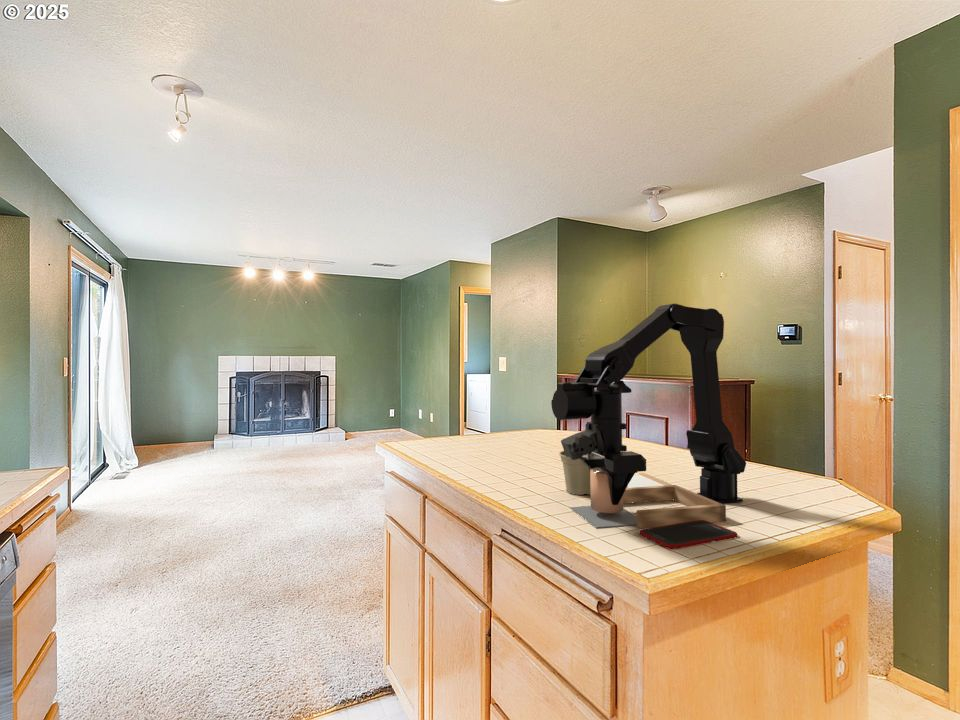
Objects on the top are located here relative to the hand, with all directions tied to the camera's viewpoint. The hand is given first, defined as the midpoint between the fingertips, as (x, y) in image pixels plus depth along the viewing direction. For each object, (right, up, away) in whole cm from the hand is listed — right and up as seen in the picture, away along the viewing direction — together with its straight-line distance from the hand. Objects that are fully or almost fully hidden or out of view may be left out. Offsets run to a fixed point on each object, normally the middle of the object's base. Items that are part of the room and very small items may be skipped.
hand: (607, 500), depth 92 cm
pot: (0, -2, 0) cm, 2 cm away
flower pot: (-2, -3, +17) cm, 17 cm away
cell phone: (+11, -4, -11) cm, 15 cm away
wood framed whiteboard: (+13, -3, +21) cm, 25 cm away
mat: (0, -3, 0) cm, 3 cm away
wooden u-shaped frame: (+11, -3, +2) cm, 11 cm away
